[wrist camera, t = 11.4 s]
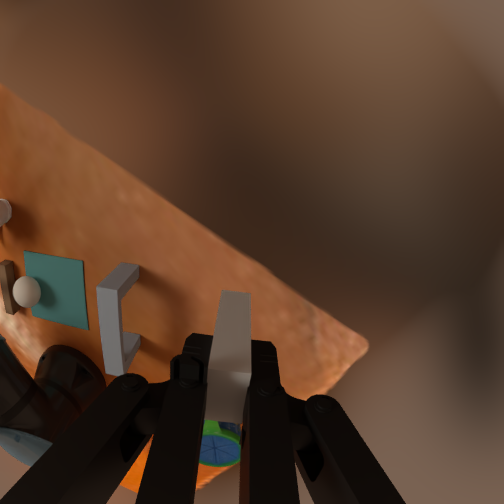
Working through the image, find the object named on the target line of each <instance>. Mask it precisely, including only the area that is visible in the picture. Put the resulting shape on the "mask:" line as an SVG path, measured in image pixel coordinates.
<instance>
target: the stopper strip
mask: <svg viewBox="0 0 504 504" xmlns="http://www.w3.org/2000/svg"><path fill="white" fill-rule="evenodd" d="M0 283H1V289H2V294H3V299H4V305H5V309H6V313H8V314H12V315H14V314H15V313H16V312H17V311H18V310H20V307H19V304H18V303H17V302H16V300H15V299H14V296H13V287H14V284H15V277H14V269H13V261H10V260H4V261H2V262H1V263H0Z"/></svg>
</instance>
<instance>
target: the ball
mask: <svg viewBox="0 0 504 504" xmlns="http://www.w3.org/2000/svg"><path fill="white" fill-rule="evenodd" d="M13 296H14V299H15V300H16V302H17V303H18V304H19V305H20V306H22V307H25V308H30V307H33V306H35V305H36V304H37V303H38V301H39V299H40V296H41V289H40V286H39V284H38V282H37V281H36V280H35V279H34V278H32V277H30V276H23V277H21V278H19V279H18V280H17V281H16V282H15V284H14V287H13Z"/></svg>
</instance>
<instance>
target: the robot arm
mask: <svg viewBox="0 0 504 504" xmlns="http://www.w3.org/2000/svg"><path fill="white" fill-rule="evenodd" d="M204 419H205V420H213V421H221V422H230V423H240V424H242V420H243V426H242V431H241V436H240V441H239V445H241V450H240V489H239V490H240V491H239V504H300V500H299V493H298V485H297V476H296V468H295V463H296V465H297V467H298V469H299V472H300V474H301V476H302V478H303V480H304V483H305V484H306V487H307V489H308V491H309V493H310V496H311V497H312V500H313V502H314V504H406V503H405V501H404V500H403V499H402V497H401V496H400V494H399V493H398V491H397V490H396V488H395V487H394V485H393V484H392V482H391V481H390V479H389V478H388V476H387V475H386V473H385V472H384V470H383V469H382V467H381V466H380V464H379V463H378V461H377V460H376V458H375V457H374V455H373V454H372V452H371V451H370V449H369V448H368V446H367V445H366V443H365V442H364V440H363V439H362V437H361V436H360V434H359V433H358V431H357V430H356V428H355V427H354V425H353V423H352V422H351V420H350V419H349V418H348V416H347V414H346V413H345V411H344V410H343V408H342V407H341V405H340V404H339V403H338V402H337V401H336V400H335V399H334V398H332V397H330V396H327V395H314V396H311V397H309V398H308V399H307V401H304V400H301V399H297V398H294V397H292V396H290V395H288V394H287V393H286V392H285V389H284V387H282V386H281V383H280V375H279V367H278V359H277V351H276V348H275V346H274V345H273V344H272V343H271V342H270V341H260V340H251V293H243V292H235V291H228V290H222V293H221V298H220V303H219V309H218V314H217V320H216V325H215V331H214V336H212V335H204V334H197V333H192V334H191V335H190V336H188V337H187V338H186V341H185V344H184V347H183V350H182V354H180V355H177V356H175V357H174V358H173V359H172V360H171V361H170V380H168V381H165V382H162V383H148V381H147V380H146V379H145V378H144V377H142V376H140V375H138V374H134V373H126V374H123V375H120V376H118V377H117V378H115V379H114V380H113V381H112V382H111V383H110V384H109V385H108V387H107V388H106V383H105V380H104V377H103V375H102V374H101V372H100V370H99V369H98V368H97V366H96V365H95V364H94V363H93V362H92V361H91V360H90V359H89V358H88V357H86V356H85V355H84V354H82V353H81V352H79V351H77V350H76V349H73V348H71V347H68V346H64V345H53V346H51V347H49V348H48V349H47V350H46V351H45V352H44V353H43V354H42V356H41V357H40V359H39V363H38V366H37V370H36V373H35V377H34V380H33V378H32V377H31V376H30V374H29V373H28V372H27V370H26V369H25V368H24V366H23V365H22V364H21V362H20V361H19V360H18V358H17V357H16V355H15V354H14V353H13V351H12V350H11V348H10V347H9V345H8V344H7V342H6V339H5V338H4V337H2V335H1V334H0V445H1V447H2V448H3V449H4V450H6V451H7V452H8V453H9V454H10V455H12V456H13V457H15V458H16V459H18V460H19V461H21V462H23V463H24V464H26V465H29V466H31V468H30V469H29V470H28V471H27V472H26V473H25V474H24V475H23V476H22V477H21V478H20V479H19V480H18V481H17V483H16V484H15V485H14V486H13V487H12V488H11V489H10V490H9V491H8V492H7V493H6V494H5V495H4V497H3V498H2V499H1V500H0V504H106V503H107V501H108V500H109V498H110V497H111V496H112V494H113V493H114V491H115V490H116V488H117V487H118V485H119V484H120V482H121V481H122V480H123V478H124V477H125V475H126V474H127V472H128V471H129V469H130V468H131V466H132V465H133V463H134V462H135V460H136V459H137V457H138V456H139V455H140V453H141V452H142V450H143V449H144V447H145V446H146V444H147V443H148V441H149V440H150V438H151V437H152V434H154V436H153V440H152V443H151V447H150V450H149V454H148V458H147V461H146V465H145V469H144V472H143V476H142V480H141V483H140V487H139V491H138V495H137V499H136V503H135V504H194V496H195V489H196V481H197V473H198V465H199V458H200V451H201V443H202V436H203V428H204Z"/></svg>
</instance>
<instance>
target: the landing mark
mask: <svg viewBox="0 0 504 504" xmlns="http://www.w3.org/2000/svg"><path fill="white" fill-rule="evenodd" d="M24 260H25V269H26V276H30V277H32V278H34V279H35V280H36V281H37V282H38V284H39V286H40V289H41V296H40V299H39V301H38V303H37V304H36V305H35V306H33V307H31V310H32V315H33V316H35V317H39V318H42V319H46V320H49V321H53V322H57V323H61V324H65V325H68V326H72V327H76V328H81V329H85V330H89V328H88V319H87V310H86V300H85V288H84V273H83V261H81V260H75V259H69V258H63V257H57V256H52V255H46V254H40V253H35V252H29V251H24Z"/></svg>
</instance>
